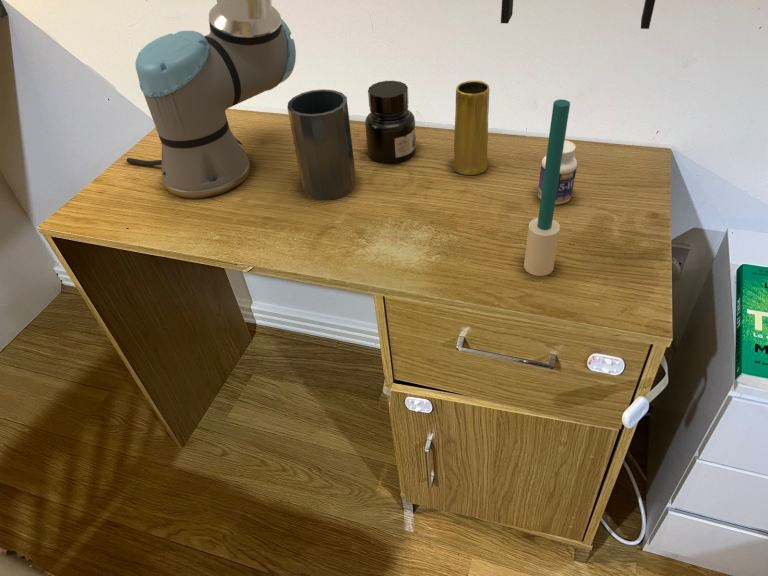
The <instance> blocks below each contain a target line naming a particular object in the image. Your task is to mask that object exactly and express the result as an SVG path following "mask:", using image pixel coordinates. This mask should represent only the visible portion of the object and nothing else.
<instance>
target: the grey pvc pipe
mask: <svg viewBox="0 0 768 576" xmlns="http://www.w3.org/2000/svg"><path fill="white" fill-rule="evenodd" d="M287 113H288V118H289V124H290V128H291V129H290V130H291V135H292V139H293V140H292V141H293V145H294V150H295V151H294V152H295V155H296V161H297V167H298V172H299V177H300V184H301V187H302V190H303V193H304V194H305V195H306V196H308V197H309V198H311V199H314V200H319V201H331V200H332V201H333V200H337V199H341V198H344V197H346V196H348V195H349V194H350V193H352V192H353V191H354V190H355V188H356V186H357V175H356V173H357V172H356V165H355V156H354V148H353V139H352V131H351V122H350V121H351V120H350V114H349V104H348V97H347V96H346V95H345V94H344V93H343V92H341V91H339V90H335V89H326V88H325V89H323V88H322V89H312V90H308V91H304V92H301V93H299V94H297V95H295V96H293V97H292V98H291V99H290V100H289V101H288V102H287Z"/></svg>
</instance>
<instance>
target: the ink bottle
mask: <svg viewBox="0 0 768 576" xmlns="http://www.w3.org/2000/svg"><path fill="white" fill-rule="evenodd" d="M367 96H368V107H369V112H370V113H369V114H368V115H367V116H366V118H365V121H364V127H365V139H366V149H367V154H368V156H369V158H371V159H372V160H374V161H377V162H381V163H399V162H403V161H406V160H408V159H410V158H411V157H412V156H414V154H415V153H416V150H417V137H416V117H415V115H414V114H413V112H412V111H411V110H410V109H409V86H408V85H407V84H406V83H404V82H402V81H398V80H383V81H378V82H376V83H373V84H372V85H370V86H369V87H368V90H367Z"/></svg>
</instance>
